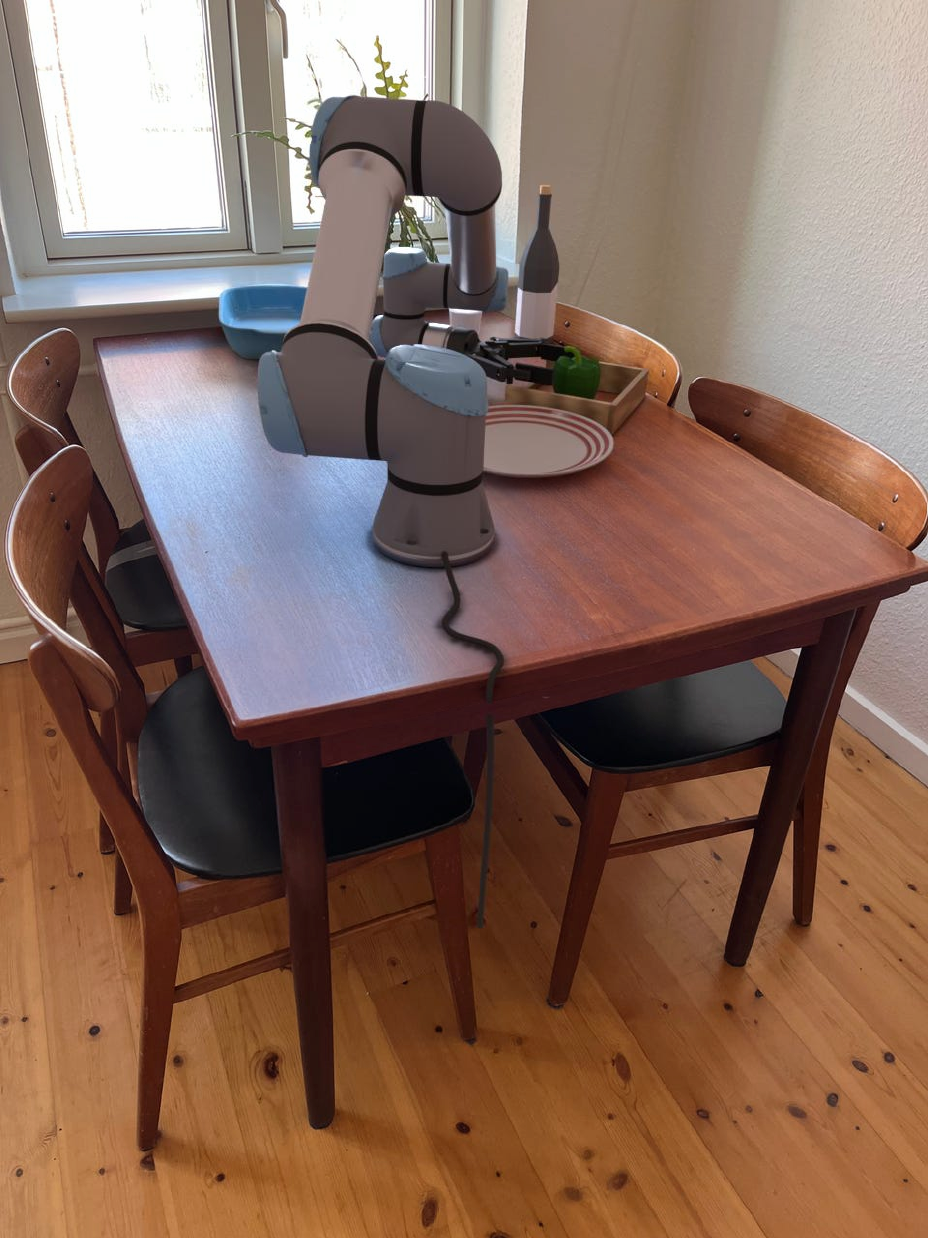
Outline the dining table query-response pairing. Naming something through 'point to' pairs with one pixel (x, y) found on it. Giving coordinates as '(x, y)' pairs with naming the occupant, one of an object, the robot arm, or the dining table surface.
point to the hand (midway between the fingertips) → (565, 366)
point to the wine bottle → (538, 278)
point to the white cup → (466, 319)
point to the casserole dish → (260, 316)
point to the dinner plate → (541, 442)
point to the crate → (606, 414)
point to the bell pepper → (576, 375)
